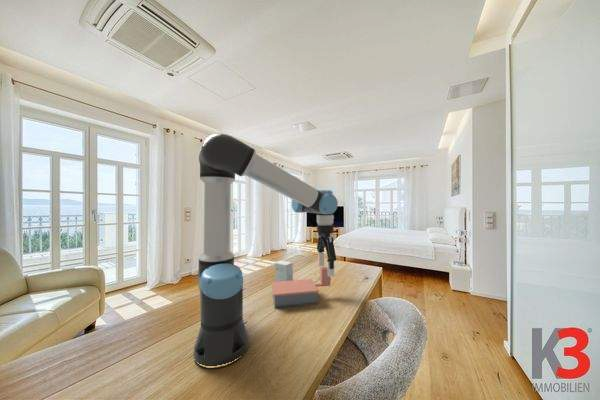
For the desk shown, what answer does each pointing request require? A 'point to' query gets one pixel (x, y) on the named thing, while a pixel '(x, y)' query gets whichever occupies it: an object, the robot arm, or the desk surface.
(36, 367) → the desk surface
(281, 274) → the small box
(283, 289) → the lid
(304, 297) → the tub
